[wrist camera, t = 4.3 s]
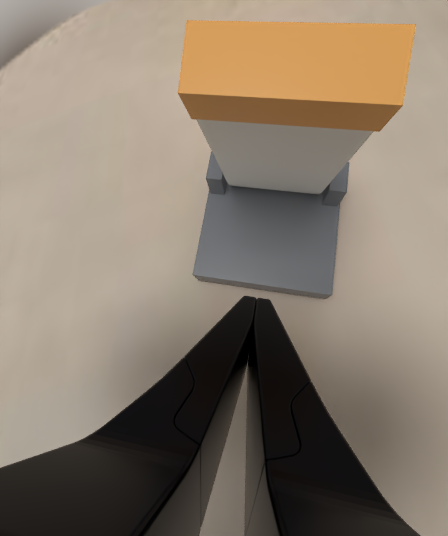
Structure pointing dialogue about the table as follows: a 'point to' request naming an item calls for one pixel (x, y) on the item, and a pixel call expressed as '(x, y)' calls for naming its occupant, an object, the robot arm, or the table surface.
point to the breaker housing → (270, 236)
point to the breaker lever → (291, 95)
